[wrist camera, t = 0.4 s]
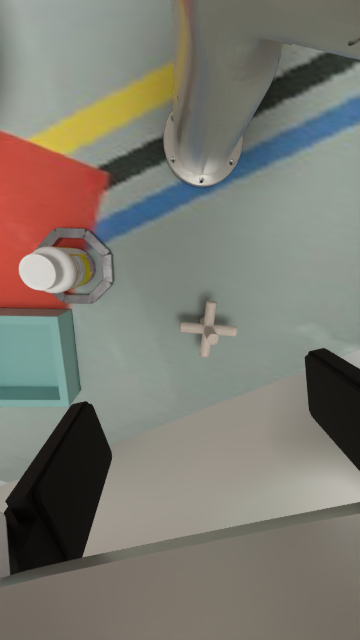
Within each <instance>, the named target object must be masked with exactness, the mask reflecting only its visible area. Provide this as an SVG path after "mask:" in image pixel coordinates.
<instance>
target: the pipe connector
mask: <svg viewBox="0 0 360 640" xmlns="http://www.w3.org/2000/svg"><path fill="white" fill-rule="evenodd" d="M216 304H217V302H214V301H206V308H205V316H204V317H202V318H201V319H200V324H198V323H186V322H181V323H180V332H186V333H199V334H202V340H201V348H200V356H202V357H209V354H210V347H211V345H214V344H216V343H217V342H218V340H219V338H218V336H217V335H225V336H236V334H237V327H236V326H224V325H214V318H215V311H216Z"/></svg>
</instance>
